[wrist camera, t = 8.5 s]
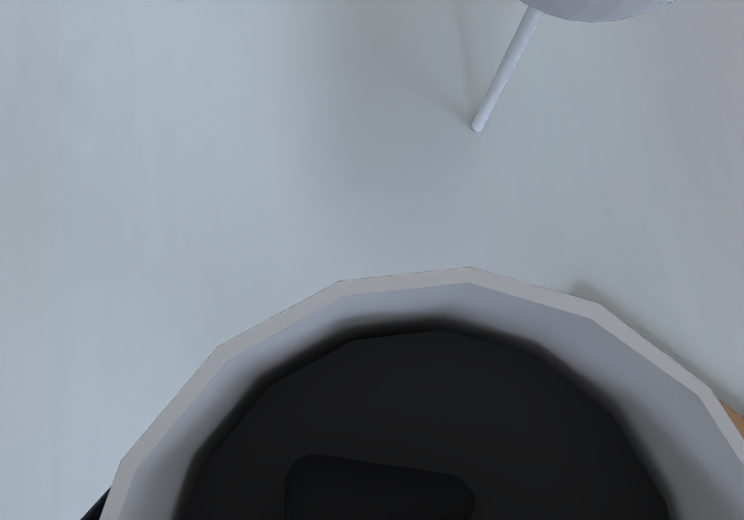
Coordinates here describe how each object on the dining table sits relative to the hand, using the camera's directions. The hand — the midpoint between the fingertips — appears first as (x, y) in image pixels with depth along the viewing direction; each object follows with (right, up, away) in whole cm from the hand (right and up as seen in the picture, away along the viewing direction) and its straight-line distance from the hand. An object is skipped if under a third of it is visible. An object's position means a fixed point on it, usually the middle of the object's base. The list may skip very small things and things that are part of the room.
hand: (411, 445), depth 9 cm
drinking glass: (0, -3, +6) cm, 7 cm away
